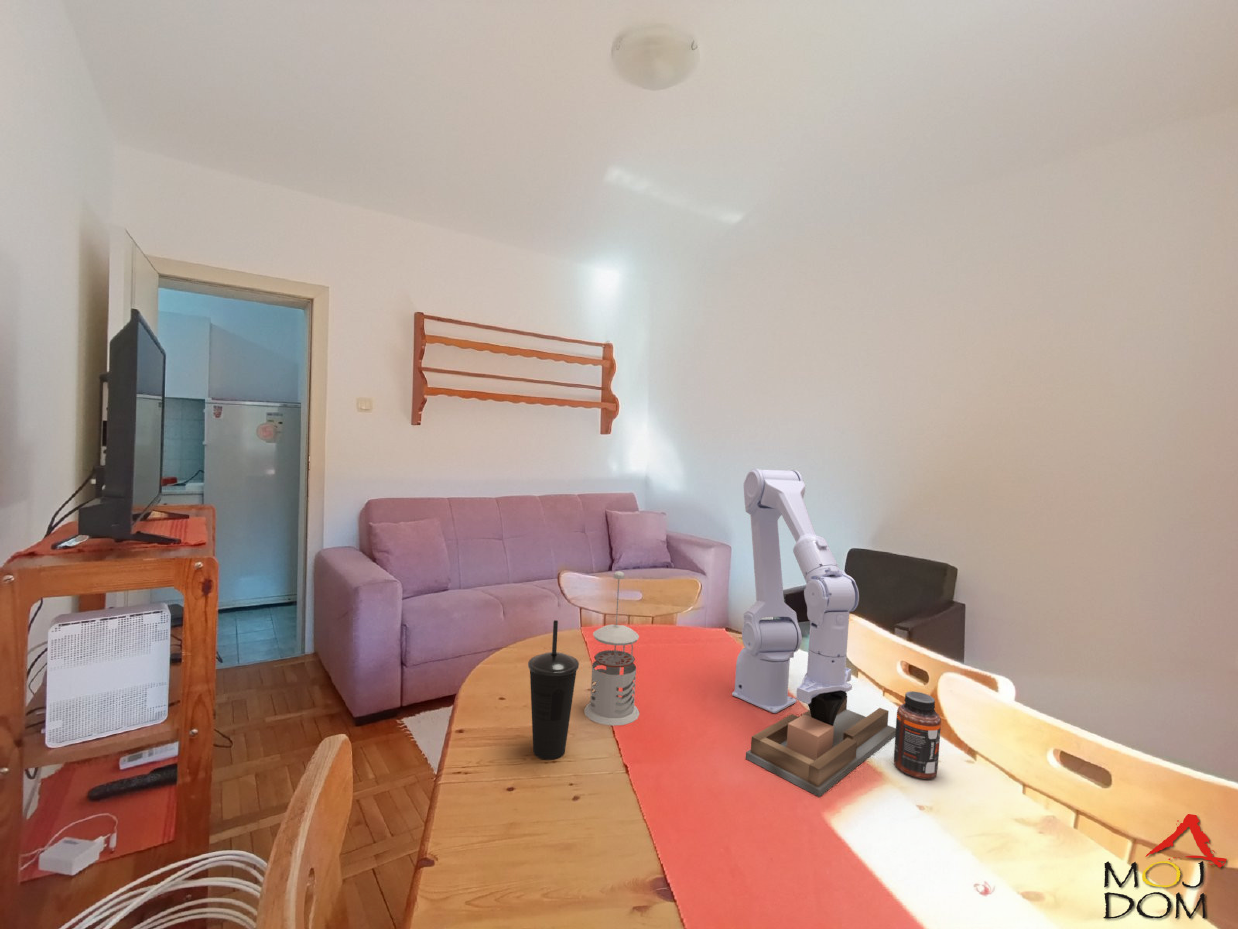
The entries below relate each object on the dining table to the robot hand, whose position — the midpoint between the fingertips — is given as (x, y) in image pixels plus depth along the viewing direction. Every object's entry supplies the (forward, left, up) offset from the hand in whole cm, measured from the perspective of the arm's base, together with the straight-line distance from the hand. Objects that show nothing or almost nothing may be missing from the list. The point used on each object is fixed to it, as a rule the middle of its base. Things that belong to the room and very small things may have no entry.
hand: (821, 734), depth 90 cm
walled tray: (0, +2, -2) cm, 3 cm away
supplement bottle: (+12, +6, -3) cm, 14 cm away
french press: (-30, -18, -3) cm, 35 cm away
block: (0, -4, -1) cm, 4 cm away
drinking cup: (-26, -35, -3) cm, 43 cm away
